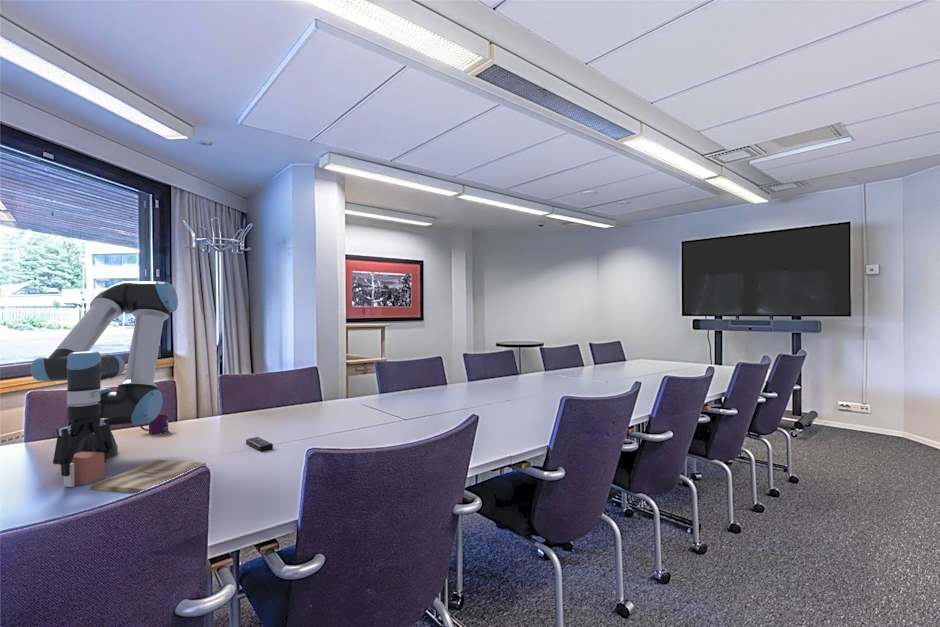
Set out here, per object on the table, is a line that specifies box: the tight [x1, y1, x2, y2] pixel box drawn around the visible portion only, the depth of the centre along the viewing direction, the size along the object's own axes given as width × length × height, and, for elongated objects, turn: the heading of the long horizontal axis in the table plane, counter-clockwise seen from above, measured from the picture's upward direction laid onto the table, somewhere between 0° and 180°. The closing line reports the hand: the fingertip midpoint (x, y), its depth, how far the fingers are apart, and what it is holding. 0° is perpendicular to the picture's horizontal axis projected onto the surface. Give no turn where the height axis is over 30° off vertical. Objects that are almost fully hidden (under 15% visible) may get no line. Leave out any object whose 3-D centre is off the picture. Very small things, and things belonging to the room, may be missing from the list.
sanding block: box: [71, 452, 105, 486], centre depth 132 cm, size 8×5×8 cm, turn 80°
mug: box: [139, 414, 169, 435], centre depth 187 cm, size 7×10×7 cm
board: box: [90, 459, 207, 494], centre depth 135 cm, size 18×22×1 cm
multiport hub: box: [245, 436, 274, 453], centre depth 166 cm, size 4×14×2 cm, turn 46°
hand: (84, 480), depth 132 cm, fingers open, 8 cm apart
